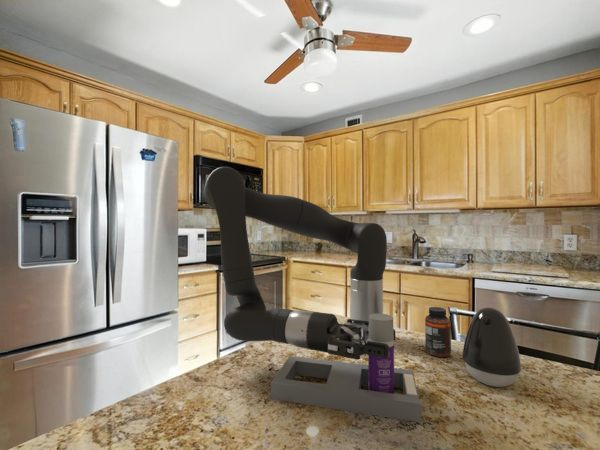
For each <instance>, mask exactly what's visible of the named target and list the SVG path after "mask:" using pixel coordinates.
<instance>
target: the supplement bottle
mask: <svg viewBox="0 0 600 450" xmlns="http://www.w3.org/2000/svg"><path fill="white" fill-rule="evenodd" d="M451 325H452V324H451V320H450V318H449V317H447V310H446V308H444V307H441V306H430V307H429V308H428V315H426V316H425V318H424V333H425V336H424V337H425V338H424V339H425V341H424V342H425V346H424V347H425V351H426V352H427V354H428V355H431V356H432V357H433V356H434V357H437V358H447V357H449V356H451V354H452V336H451V335H452V332H451V331H452V329H451Z"/></svg>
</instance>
